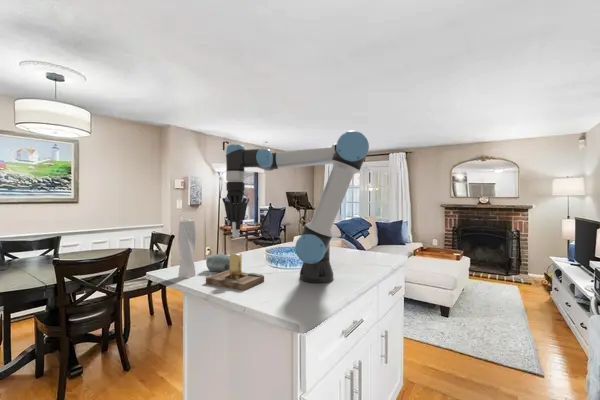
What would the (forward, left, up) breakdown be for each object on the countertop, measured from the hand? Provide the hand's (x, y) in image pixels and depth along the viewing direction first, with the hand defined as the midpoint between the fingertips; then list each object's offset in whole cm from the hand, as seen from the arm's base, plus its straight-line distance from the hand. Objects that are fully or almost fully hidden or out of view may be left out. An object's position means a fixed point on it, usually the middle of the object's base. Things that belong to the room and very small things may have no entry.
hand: (235, 237), depth 123 cm
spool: (+19, -11, -20) cm, 30 cm away
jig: (0, 0, -19) cm, 19 cm away
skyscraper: (+26, +3, -20) cm, 33 cm away
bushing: (0, 0, -19) cm, 19 cm away
